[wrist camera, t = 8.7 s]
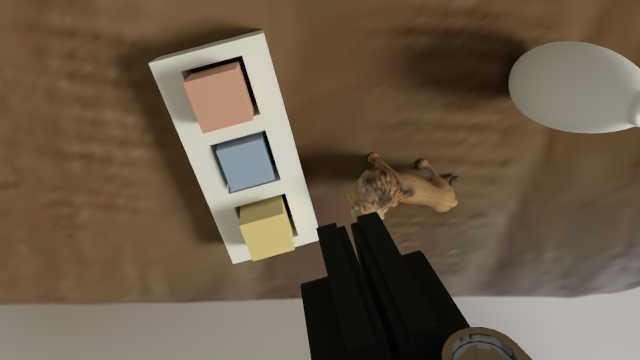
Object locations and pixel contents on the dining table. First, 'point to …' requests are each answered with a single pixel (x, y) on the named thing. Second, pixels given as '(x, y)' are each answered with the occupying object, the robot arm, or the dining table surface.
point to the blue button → (246, 161)
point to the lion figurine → (399, 189)
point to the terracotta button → (219, 97)
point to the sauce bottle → (577, 88)
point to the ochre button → (266, 228)
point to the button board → (265, 118)
